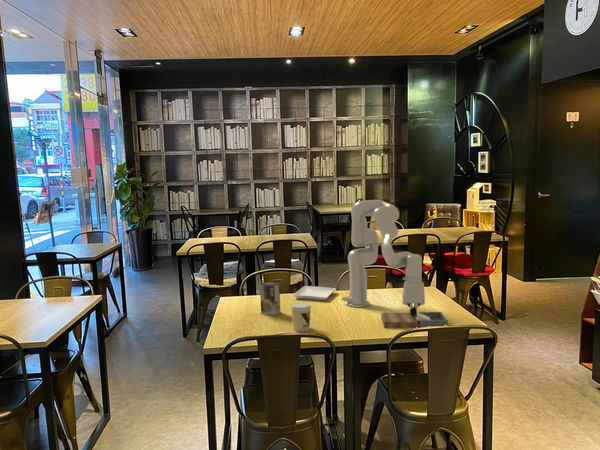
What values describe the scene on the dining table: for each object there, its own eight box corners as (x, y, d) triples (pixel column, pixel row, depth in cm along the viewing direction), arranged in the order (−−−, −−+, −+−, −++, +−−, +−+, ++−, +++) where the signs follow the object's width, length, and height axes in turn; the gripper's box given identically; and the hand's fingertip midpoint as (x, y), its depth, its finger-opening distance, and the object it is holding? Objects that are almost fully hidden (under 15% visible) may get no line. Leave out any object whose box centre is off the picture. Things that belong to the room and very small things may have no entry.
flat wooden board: (384, 328, 230) (384, 322, 229) (381, 318, 244) (381, 312, 243) (418, 327, 229) (418, 321, 229) (412, 318, 243) (413, 312, 242)
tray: (418, 327, 229) (418, 320, 229) (413, 318, 243) (413, 312, 242) (447, 327, 228) (447, 320, 228) (440, 318, 242) (441, 311, 241)
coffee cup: (304, 333, 225) (304, 308, 223) (288, 330, 230) (287, 306, 228) (314, 327, 233) (314, 303, 231) (298, 324, 238) (297, 301, 236)
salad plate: (326, 302, 275) (326, 297, 275) (292, 300, 282) (292, 294, 282) (336, 293, 295) (336, 287, 294) (304, 290, 302) (304, 285, 302)
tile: (416, 319, 231) (418, 316, 231) (414, 315, 238) (415, 311, 238) (430, 325, 231) (431, 321, 231) (427, 320, 238) (428, 316, 238)
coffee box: (281, 312, 258) (280, 283, 256) (275, 315, 252) (274, 285, 250) (266, 310, 262) (265, 281, 260) (260, 313, 256) (259, 284, 254)
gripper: (399, 281, 230) (399, 318, 232) (430, 281, 229) (430, 318, 231) (397, 277, 237) (397, 313, 240) (427, 277, 236) (427, 313, 239)
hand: (413, 315), depth 235 cm, fingers closed
